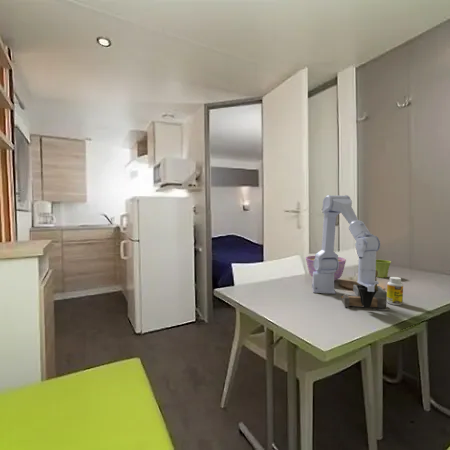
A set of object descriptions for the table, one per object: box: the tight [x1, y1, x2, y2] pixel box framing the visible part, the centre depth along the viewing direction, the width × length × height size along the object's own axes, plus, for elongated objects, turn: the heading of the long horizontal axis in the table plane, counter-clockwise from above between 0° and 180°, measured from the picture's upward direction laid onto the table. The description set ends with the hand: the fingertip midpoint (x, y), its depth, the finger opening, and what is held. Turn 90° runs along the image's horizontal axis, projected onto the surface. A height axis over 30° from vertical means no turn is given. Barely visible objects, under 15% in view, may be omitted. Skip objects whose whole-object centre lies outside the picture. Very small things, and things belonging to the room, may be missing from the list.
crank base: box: [371, 306, 391, 312], centre depth 117 cm, size 6×6×1 cm
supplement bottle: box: [386, 276, 404, 306], centre depth 123 cm, size 6×6×10 cm
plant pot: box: [376, 259, 392, 279], centre depth 171 cm, size 9×9×9 cm
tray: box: [352, 284, 387, 299], centre depth 135 cm, size 11×11×3 cm
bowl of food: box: [305, 255, 347, 281], centre depth 161 cm, size 20×20×12 cm
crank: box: [342, 294, 387, 309], centre depth 118 cm, size 15×5×3 cm, turn 78°
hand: (365, 306), depth 113 cm, fingers open, 2 cm apart
